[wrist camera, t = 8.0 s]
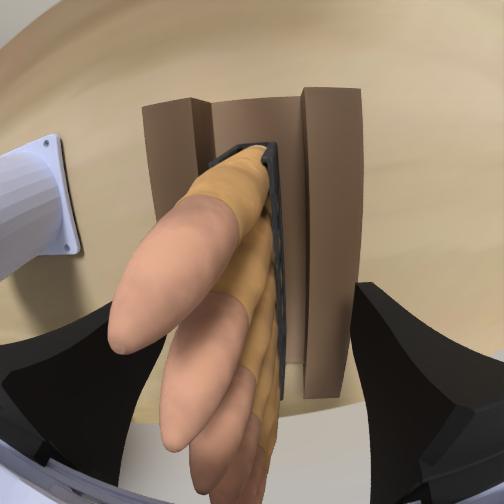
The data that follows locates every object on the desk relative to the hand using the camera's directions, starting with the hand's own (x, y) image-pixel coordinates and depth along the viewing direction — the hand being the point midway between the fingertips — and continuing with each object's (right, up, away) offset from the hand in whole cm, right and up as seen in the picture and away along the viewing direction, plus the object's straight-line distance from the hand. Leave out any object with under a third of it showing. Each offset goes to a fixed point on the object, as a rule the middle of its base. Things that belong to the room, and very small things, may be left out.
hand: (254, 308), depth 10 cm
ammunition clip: (+1, +2, +5) cm, 5 cm away
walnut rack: (+1, +2, +5) cm, 6 cm away
